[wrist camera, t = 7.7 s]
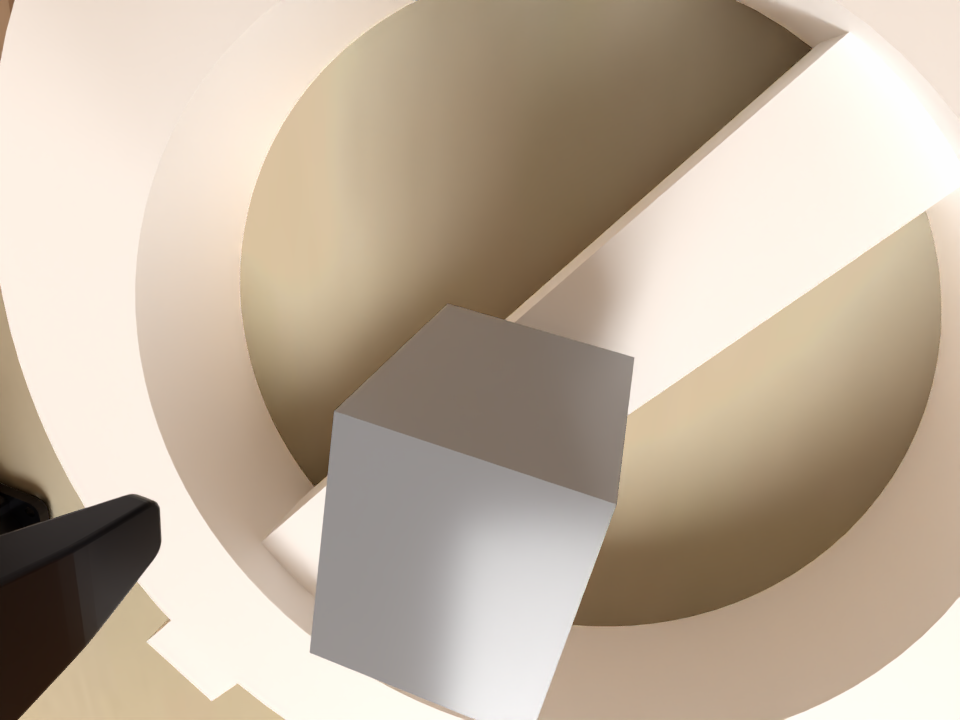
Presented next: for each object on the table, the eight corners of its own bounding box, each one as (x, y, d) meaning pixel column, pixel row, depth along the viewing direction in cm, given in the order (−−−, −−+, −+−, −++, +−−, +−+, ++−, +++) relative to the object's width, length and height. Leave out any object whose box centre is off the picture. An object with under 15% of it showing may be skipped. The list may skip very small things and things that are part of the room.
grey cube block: (570, 544, 14) (528, 741, 10) (413, 489, 15) (309, 652, 11) (634, 357, 12) (616, 504, 8) (447, 303, 13) (333, 411, 8)
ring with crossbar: (217, 618, 27) (135, 714, 23) (31, -189, 16) (-196, -291, 12) (951, 793, 20) (1027, 978, 16) (1509, -427, 9) (2249, -885, 5)
